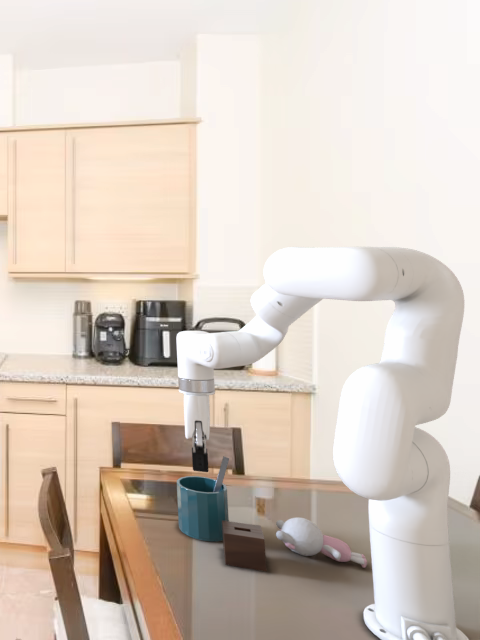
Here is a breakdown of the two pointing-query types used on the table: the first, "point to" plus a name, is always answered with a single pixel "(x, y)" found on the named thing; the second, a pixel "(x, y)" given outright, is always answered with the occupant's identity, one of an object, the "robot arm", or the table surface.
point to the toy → (314, 541)
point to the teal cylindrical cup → (201, 508)
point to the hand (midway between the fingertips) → (200, 467)
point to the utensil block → (244, 545)
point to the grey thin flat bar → (221, 474)
